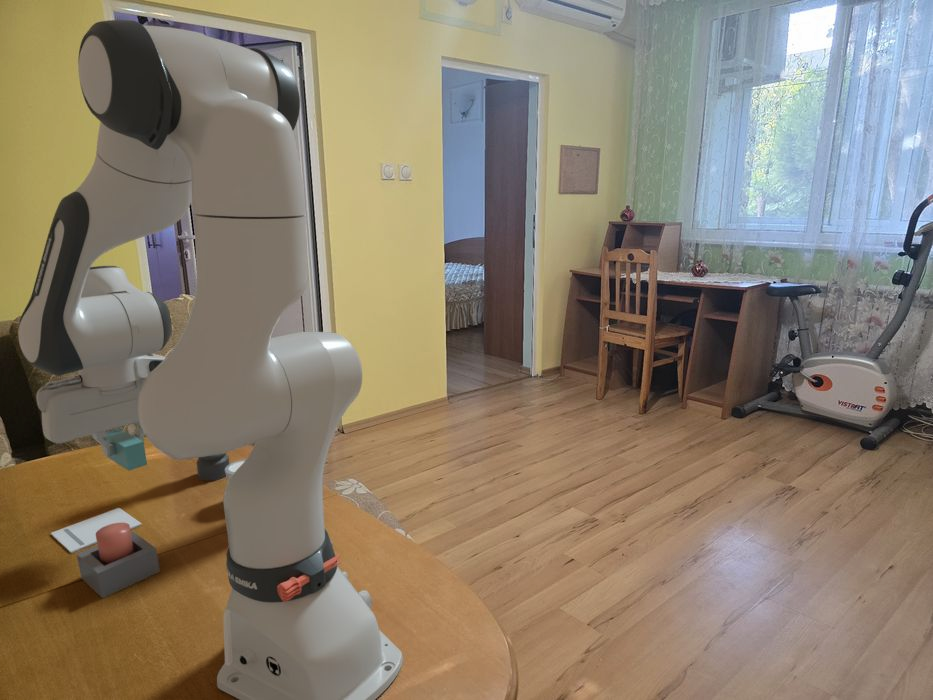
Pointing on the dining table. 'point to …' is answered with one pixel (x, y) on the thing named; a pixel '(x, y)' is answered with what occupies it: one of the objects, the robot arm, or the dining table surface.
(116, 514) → the sketch sheet
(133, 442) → the teal rectangular block
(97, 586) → the button box
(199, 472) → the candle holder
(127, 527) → the button
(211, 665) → the dining table surface
